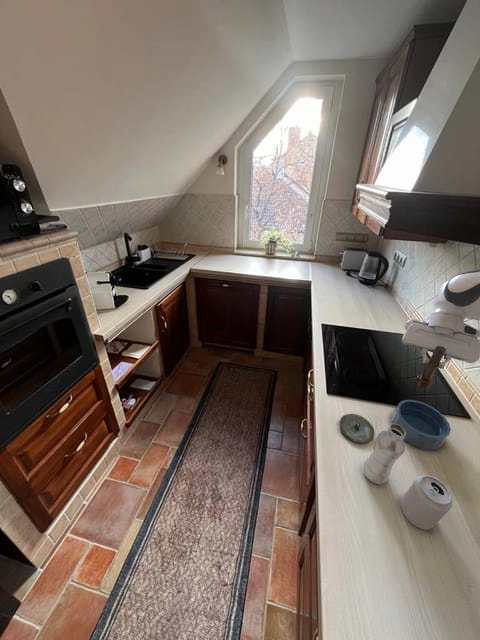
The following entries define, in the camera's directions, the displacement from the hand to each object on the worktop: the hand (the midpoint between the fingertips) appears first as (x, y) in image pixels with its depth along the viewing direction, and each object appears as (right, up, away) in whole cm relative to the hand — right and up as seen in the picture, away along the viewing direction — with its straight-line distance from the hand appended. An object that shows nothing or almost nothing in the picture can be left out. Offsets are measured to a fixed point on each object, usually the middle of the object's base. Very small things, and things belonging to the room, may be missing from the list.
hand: (432, 365), depth 81 cm
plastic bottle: (-24, -29, -9) cm, 39 cm away
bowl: (-3, -22, +3) cm, 23 cm away
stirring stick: (0, -7, +5) cm, 8 cm away
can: (-18, -34, -17) cm, 42 cm away
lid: (-24, -22, +3) cm, 33 cm away
